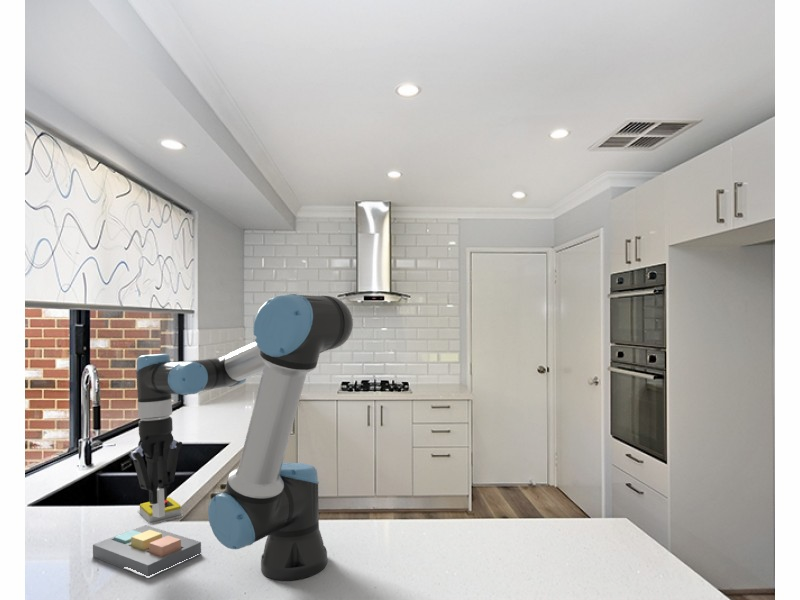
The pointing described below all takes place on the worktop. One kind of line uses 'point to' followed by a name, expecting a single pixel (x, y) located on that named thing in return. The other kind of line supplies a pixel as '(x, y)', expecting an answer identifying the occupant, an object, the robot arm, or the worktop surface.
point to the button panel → (144, 553)
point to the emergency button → (170, 511)
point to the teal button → (126, 536)
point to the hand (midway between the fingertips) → (158, 515)
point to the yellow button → (144, 539)
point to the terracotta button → (164, 546)
